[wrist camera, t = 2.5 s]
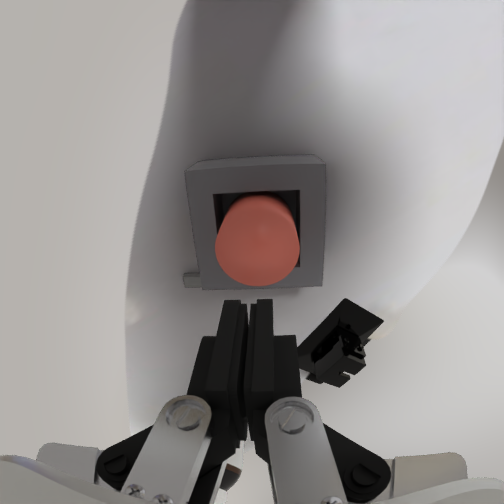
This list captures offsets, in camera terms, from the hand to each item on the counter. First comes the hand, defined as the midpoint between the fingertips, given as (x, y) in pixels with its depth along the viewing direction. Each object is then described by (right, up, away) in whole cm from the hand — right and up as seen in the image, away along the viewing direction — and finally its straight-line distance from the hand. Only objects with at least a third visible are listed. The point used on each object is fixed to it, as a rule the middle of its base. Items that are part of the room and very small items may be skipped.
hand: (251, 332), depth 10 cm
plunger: (0, +5, +8) cm, 10 cm away
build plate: (+8, -6, +17) cm, 19 cm away
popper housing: (+1, +6, +11) cm, 12 cm away
